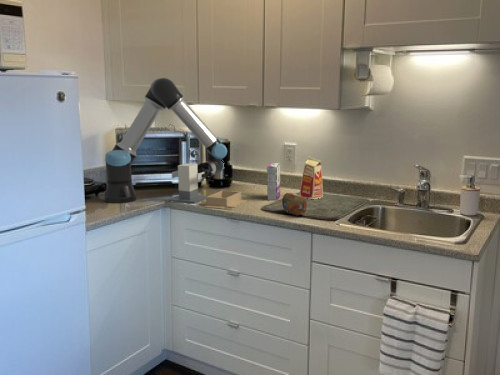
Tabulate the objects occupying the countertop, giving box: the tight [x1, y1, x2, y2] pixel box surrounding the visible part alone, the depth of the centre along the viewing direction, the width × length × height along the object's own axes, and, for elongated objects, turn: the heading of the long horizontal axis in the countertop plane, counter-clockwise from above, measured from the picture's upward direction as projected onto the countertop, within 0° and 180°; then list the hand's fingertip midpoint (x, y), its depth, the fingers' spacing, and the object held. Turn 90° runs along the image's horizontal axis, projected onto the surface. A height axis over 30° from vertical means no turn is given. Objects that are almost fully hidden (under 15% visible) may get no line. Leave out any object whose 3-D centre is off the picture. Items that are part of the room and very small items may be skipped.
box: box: [177, 162, 199, 200], centre depth 246 cm, size 6×8×16 cm
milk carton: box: [298, 156, 324, 200], centre depth 249 cm, size 9×9×20 cm
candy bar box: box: [266, 162, 281, 201], centre depth 249 cm, size 11×5×16 cm, turn 168°
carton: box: [200, 190, 248, 210], centre depth 240 cm, size 17×23×4 cm
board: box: [168, 194, 208, 205], centre depth 248 cm, size 14×14×1 cm
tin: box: [281, 192, 307, 216], centre depth 218 cm, size 15×3×8 cm, turn 29°
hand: (184, 176), depth 243 cm, fingers open, 13 cm apart
